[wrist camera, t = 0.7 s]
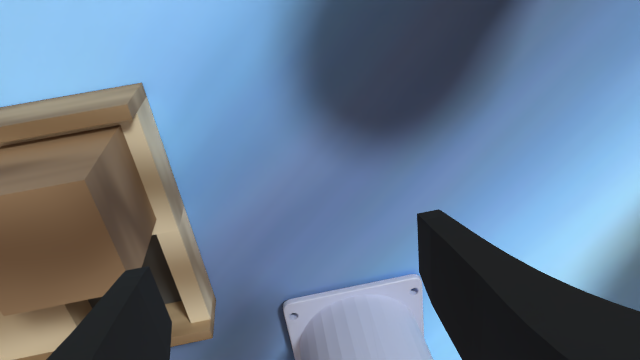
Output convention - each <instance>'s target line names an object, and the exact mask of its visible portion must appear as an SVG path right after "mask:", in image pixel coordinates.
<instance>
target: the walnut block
mask: <svg viewBox="0 0 640 360" xmlns="http://www.w3.org/2000/svg"><path fill="white" fill-rule="evenodd" d="M156 220H157V219H156V217H155V214H154V212H153V209H152V206H151V204H150V201H149V198H148V196H147V193H146V191H145V188H144V185H143V183H142V180H141V178H140V175H139V172H138V170H137V167H136V165H135V162H134V159H133V157H132V154H131V151H130V149H129V146H128V144H127V141H126V138H125V136H124V133H123V131H122V128H121V125H116V126H111V127H105V128H99V129H94V130H88V131H83V132H77V133H71V134H66V135H60V136H55V137H49V138H44V139H38V140H32V141H27V142H21V143H16V144H10V145H5V146H1V147H0V312H1V313H2V315H3V316H8V315H13V314H18V313H23V312H28V311H33V310H38V309H43V308H48V307H53V306H58V305H63V304H68V303H73V302H78V301H83V300H88V299H93V298H98V297H103V296H104V294H105V293H106V292H107V291H108V290H109V289H110V287H111V286H112V285H113V284H114V283H115V282H116V280H117V279H118V278H119V277H120V276H121V275H122V274H123V273H124V272H125V271H126V270H131V269H136V268H141V267H142V265H143V261H144V258H145V255H146V252H147V249H148V245H149V242H150V239H151V236H152V233H153V229H154V226H155V223H156Z"/></svg>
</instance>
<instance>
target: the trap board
mask: <svg viewBox="0 0 640 360" xmlns="http://www.w3.org/2000/svg"><path fill="white" fill-rule="evenodd" d="M116 125H121V128H122V131H123V133H124V136H125V138H126V141H127V144H128V146H129V149H130V151H131V154H132V157H133V159H134V162H135V165H136V167H137V170H138V172H139V175H140V178H141V180H142V183H143V185H144V188H145V191H146V193H147V196H148V198H149V201H150V204H151V206H152V209H153V212H154V214H155V217H156V219H157V220H156V223H155V226H154V229H153V233H152V236H151V239H150V242H149V245H148V249H147V252H146V255H145V258H144V261H143V265H142V267H146V266H149V267H150V270H151V272H152V275H153V277H154V279H155V282H156V284H157V287H158V289H159V292H160V294H161V296H162V299H163V301H164V304H165V306H166V309H167V311H168V313H169V316H170V318H171V321H172V333H171V347H172V346H177V345H182V344H187V343H191V342H196V341H201V340H206V339H211V338H213V329H214V317H215V305H216V299H215V296H214V293H213V290H212V287H211V284H210V281H209V278H208V275H207V272H206V269H205V266H204V264H203V261H202V258H201V255H200V252H199V249H198V246H197V243H196V240H195V237H194V234H193V231H192V228H191V225H190V222H189V220H188V217H187V214H186V211H185V208H184V205H183V202H182V199H181V196H180V193H179V190H178V187H177V184H176V181H175V178H174V175H173V173H172V170H171V167H170V164H169V161H168V158H167V155H166V152H165V149H164V146H163V143H162V140H161V137H160V134H159V131H158V129H157V126H156V123H155V120H154V117H153V114H152V111H151V108H150V105H149V102H148V99H147V96H146V93H145V90H144V87H143V84H142V83H138V84H132V85H126V86H121V87H115V88H109V89H103V90H98V91H92V92H86V93H80V94H75V95H69V96H63V97H58V98H52V99H46V100H40V101H35V102H29V103H23V104H17V105H12V106H6V107H0V147H1V146H5V145H10V144H16V143H21V142H27V141H32V140H38V139H44V138H49V137H55V136H60V135H66V134H71V133H77V132H83V131H88V130H94V129H99V128H105V127H111V126H116ZM101 298H102V297H98V298H93V299H88V300H83V301H78V302H73V303H68V304H63V305H58V306H53V307H48V308H43V309H38V310H33V311H28V312H23V313H18V314H13V315H8V316H3V315H2V313H1V312H0V360H46V359H47V358H48V357H49V356H50V355H51V354H52V353H53V352H54V351H55V350H56V348H57V347H58V346H59V345H60V344H61V343H62V342H63V341H64V340H65V339H66V338H67V337H68V336H69V335H70V334H71V333H72V331H73V330H74V329H75V328H76V327H77V326H78V325H79V324H80V322H81V321H82V320H83V319H84V318H85V317H86V315H87V314H88V313H89V312H90V311H91V310H92V309H93V307H94V306H95V305H96V304H97V303H98V302H99V300H100V299H101Z"/></svg>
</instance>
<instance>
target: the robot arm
mask: <svg viewBox="0 0 640 360" xmlns="http://www.w3.org/2000/svg"><path fill="white" fill-rule="evenodd" d="M417 223H418V251H419V273H420V275H421V278H422V281H423V283H424V286H425V288H426V291H427V293H428V296H429V298H430V301H431V303H432V305H433V307H434V309H435V311H436V313H437V315H438V317H439V318H440V320H441V322H442V324H443V326H444V328H445V329H446V331H447V333H448V335H449V337H450V338H451V340H452V342H453V344H454V346H455V348H456V349H457V351H458V353H459V355H460V357H461V358H462V360H640V312H639V311H636V310H633V309H630V308H627V307H624V306H622V305H619V304H616V303H613V302H611V301H608V300H605V299H603V298H600V297H597V296H595V295H592V294H590V293H587V292H585V291H582V290H580V289H577V288H575V287H573V286H570V285H568V284H566V283H564V282H562V281H560V280H557V279H555V278H553V277H551V276H549V275H547V274H545V273H543V272H541V271H539V270H537V269H535V268H533V267H531V266H529V265H527V264H525V263H524V262H522V261H520V260H518V259H516V258H514V257H513V256H511V255H509V254H507V253H506V252H504V251H502V250H501V249H499V248H497V247H496V246H494V245H492V244H491V243H489V242H488V241H486V240H485V239H483V238H481V237H480V236H478V235H477V234H475V233H474V232H472V231H471V230H469V229H468V228H466V227H465V226H463V225H462V224H460V223H459V222H457V221H456V220H454V219H453V218H451V217H450V216H448V215H447V214H445V213H444V212H442V211H441V210H434V211H429V212H424V213H419V214H417ZM422 281H421V279H420V277H419V276H418V275H416V274H411V275H406V276H401V277H396V278H391V279H386V280H381V281H377V282H372V283H367V284H362V285H357V286H352V287H347V288H342V289H337V290H333V291H328V292H323V293H318V294H313V295H308V296H303V297H298V298H293V299H289V300H287V301H286V302H284V304H283V312H284V316H285V320H286V324H287V328H288V332H289V336H290V340H291V344H292V349H293V353H294V357H295V360H433V358H432V356H431V353H430V351H429V349H428V346H427V344H426V342H425V339H424V324H423V295H422ZM413 288H415V289H414V290H411V289H413ZM292 313H296V314H294V315H291V314H292ZM171 333H172V321H171V318H170V316H169V313H168V311H167V309H166V306H165V304H164V301H163V299H162V296H161V294H160V292H159V289H158V287H157V284H156V282H155V279H154V277H153V275H152V272H151V270H150V267H149V266H146V267H141V268H136V269H131V270H126V271H125V272H124V273H123V274H122V275H121V276H120V277H119V278H118V279H117V280H116V282H115V283H114V284H113V285H112V286H111V287H110V289H109V290H108V291H107V292H106V293H105V294H104V296H103V297H102V298H101V299H100V300H99V302H98V303H97V304H96V305H95V306H94V307H93V309H92V310H91V311H90V312H89V313H88V314H87V315H86V317H85V318H84V319H83V320H82V321H81V322H80V324H79V325H78V326H77V327H76V328H75V329H74V330H73V331H72V333H71V334H70V335H69V336H68V337H67V338H66V339H65V340H64V341H63V342H62V343H61V344H60V345H59V346H58V347H57V348H56V350H55V351H54V352H53V353H52V354H51V355H50V356H49V357H48V358H47V359H46V360H169V359H170V348H171Z"/></svg>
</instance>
